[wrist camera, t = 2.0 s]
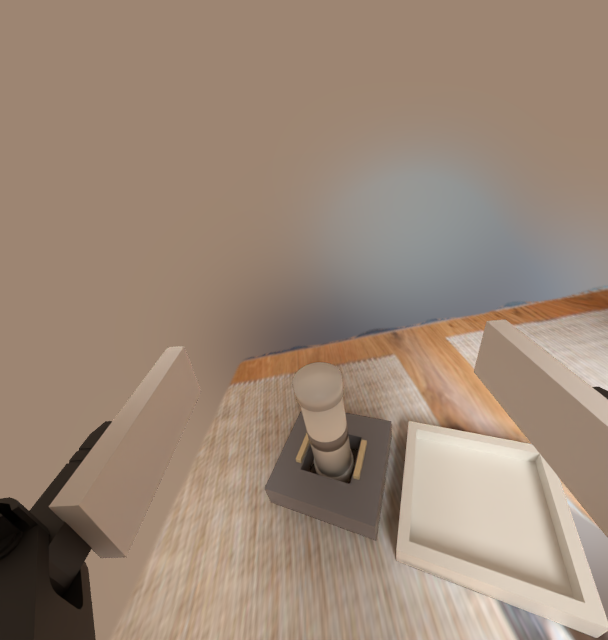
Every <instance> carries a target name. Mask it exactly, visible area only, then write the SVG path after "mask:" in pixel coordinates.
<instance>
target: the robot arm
mask: <svg viewBox="0 0 608 640" xmlns="http://www.w3.org/2000/svg"><path fill="white" fill-rule="evenodd" d="M474 373H475V374H476V375H477V376H478V378H479V379H480V380H481V381H482V383H483V384H484V385H485V386H486V388H487V389H488V390H489V391H490V393H491V394H492V395H493V396H494V397H495V399H496V400H497V401H498V402H499V404H500V405H501V406H502V407H503V409H504V410H505V411H506V412H507V414H508V415H509V416H510V417H511V419H512V420H513V421H514V422H515V424H516V425H517V426H518V427H519V428H520V430H521V431H522V432H523V433H524V435H525V436H526V437H527V438H528V440H529V441H530V442H531V443H532V445H533V446H534V447H535V448H536V450H537V451H538V452H539V453H540V454H541V456H542V457H543V458H544V459H545V461H546V462H547V463H548V464H549V466H550V467H551V468H552V469H553V471H554V472H555V473H556V474H557V476H558V477H559V478H560V479H561V481H562V482H563V483H564V484H565V485H566V487H567V488H568V489H569V490H570V492H571V493H572V494H573V495H574V497H575V498H576V499H577V500H578V502H579V503H580V504H581V505H582V507H583V508H584V509H585V510H586V512H587V513H588V514H589V515H590V516H591V518H592V519H593V520H594V521H595V523H596V524H597V525H598V526H599V528H600V529H601V530H602V531H603V533H604V534H605V535H606V536H607V537H608V391H606V390H604V389H602V388H600V387H591V386H590V385H589V384H587V383H586V382H585V381H583V380H582V379H581V378H580V377H578V376H577V375H576V374H574V373H573V372H572V371H571V370H569V369H568V368H567V367H566V366H564V365H563V364H562V363H560V362H559V361H558V360H557V359H555V358H554V357H553V356H551V355H550V354H549V353H548V352H546V351H545V350H544V349H543V348H541V347H540V346H539V345H537V344H536V343H535V342H534V341H532V340H531V339H530V338H528V337H527V336H526V335H525V334H523V333H522V332H521V331H520V330H518V329H517V328H516V327H514V326H513V325H512V324H511V323H509V322H508V321H507V320H494V321H487V322H486V326H485V330H484V334H483V338H482V342H481V345H480V349H479V353H478V357H477V361H476V365H475V369H474ZM200 394H201V389H200V387H199V384H198V381H197V379H196V376H195V373H194V371H193V368H192V366H191V363H190V360H189V358H188V355H187V352H186V350H185V347H184V346H180V347H168V348H167V349H166V350H165V352H164V353H163V354H162V356H161V357H160V358H159V360H158V361H157V362H156V364H155V365H154V366H153V368H152V369H151V370H150V372H149V373H148V374H147V376H146V377H145V379H144V380H143V381H142V382H141V384H140V385H139V386H138V388H137V389H136V390H135V392H134V393H133V394H132V396H131V397H130V398H129V400H128V401H127V403H126V404H125V405H124V407H123V408H122V409H121V410H120V412H119V413H118V414H117V416H116V417H115V419H114V420H113V421H108V422H105V423H103V424H102V425H101V426H100V427H98V428H97V429H96V430H95V431H94V432H92V433H91V434H90V435H89V437H88V438H87V439H86V440H85V442H84V443H83V444H82V445H81V447H80V448H79V451H77V452H76V453H75V454H74V455H73V457H72V458H71V459H70V462H69V464H66V465H65V467H64V468H63V469H62V471H61V472H60V473H59V475H58V476H57V477H56V478H55V479H54V481H53V482H52V483H51V484H50V486H49V487H48V488H47V489H46V491H45V492H44V493H43V494H42V496H41V497H40V498H39V499H38V501H37V502H36V503H35V505H34V506H33V507H32V508H31V510H30V511H28V510H27V509H26V508H25V507H24V506H23V505H22V504H20V503H19V502H18V501H17V500H15V499H13V498H10V497H9V498H3V499H0V640H95V630H94V620H93V611H92V601H91V592H90V582H89V573H88V567H87V565H86V563H85V562H84V561H85V559H86V557H87V555H88V553H89V552H90V550H91V549H92V550H93V551H94V552H95V553H96V554H97V555H98V556H99V557H100V558H118V557H127V555H128V552H129V550H130V548H131V546H132V544H133V541H134V539H135V537H136V535H137V533H138V530H139V528H140V526H141V524H142V522H143V519H144V517H145V515H146V513H147V511H148V508H149V506H150V504H151V502H152V500H153V497H154V495H155V493H156V491H157V489H158V486H159V484H160V482H161V480H162V477H163V475H164V473H165V471H166V469H167V467H168V464H169V462H170V460H171V458H172V455H173V453H174V451H175V449H176V447H177V444H178V442H179V440H180V438H181V435H182V434H183V431H184V429H185V427H186V425H187V423H188V420H189V418H190V416H191V414H192V412H193V409H194V407H195V405H196V403H197V401H198V398H199V396H200Z"/></svg>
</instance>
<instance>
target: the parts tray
mask: <svg viewBox="0 0 608 640" xmlns="http://www.w3.org/2000/svg"><path fill="white" fill-rule="evenodd" d="M396 561H398V562H400V563H403V564H406V565H408V566H411V567H413V568H416V569H419V570H421V571H424V572H426V573H429V574H432V575H434V576H437V577H439V578H442V579H445V580H447V581H450V582H452V583H455V584H458V585H460V586H463V587H465V588H468V589H471V590H473V591H476V592H478V593H481V594H484V595H486V596H489V597H491V598H494V599H497V600H499V601H502V602H504V603H507V604H510V605H512V606H515V607H517V608H520V609H523V610H525V611H528V612H530V613H533V614H536V615H538V616H541V617H543V618H546V619H549V620H551V621H554V622H556V623H559V624H562V625H564V626H567V627H569V628H572V629H575V630H577V631H580V632H582V633H585V634H588V635H590V636H593V637H595V638H598V637H599V636H601V635H602V634H604V633H605V632H607V631H608V621H607V618H606V615H605V612H604V609H603V606H602V603H601V600H600V597H599V594H598V591H597V588H596V585H595V582H594V579H593V577H592V573H591V570H590V568H589V565H588V562H587V559H586V556H585V553H584V550H583V547H582V544H581V541H580V538H579V535H578V532H577V529H576V526H575V523H574V520H573V517H572V514H571V511H570V509H569V506H568V503H567V500H566V497H565V494H564V491H563V488H562V485H561V482H560V479H559V477H558V476H557V474H556V473H555V472H554V471H553V469H552V468H551V467H550V466H549V464H548V463H547V462H546V461H545V459H544V458H543V457H542V456H541V454H540V453H539V452H538V451H537V450H536V448H535V447H534V446H533V445H532V444H528V443H523V442H518V441H513V440H507V439H502V438H497V437H491V436H486V435H481V434H476V433H470V432H465V431H460V430H454V429H449V428H444V427H439V426H433V425H428V424H423V423H418V422H412V421H409V424H408V434H407V445H406V455H405V465H404V475H403V486H402V496H401V506H400V517H399V527H398V537H397V548H396Z"/></svg>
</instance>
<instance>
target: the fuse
mask: <svg viewBox="0 0 608 640" xmlns="http://www.w3.org/2000/svg"><path fill="white" fill-rule="evenodd" d="M292 385H293V389H294V392H295V396H296V400H297V402H298V404H299V405H300V407H301V410H302V414H303V418H304V422H305V425H306V431H307V435H308V439H309V442H310V444H311V448H312V452H313V456H314V466H315V470H316V473H317V474H318V475H321V476H324V477H328V478H331V479H334V480H338V481H341V482H344V483H348V482H349V481H350V480H351V479H352V475H353V471H354V467H355V466H354V459H353V454H352V451H351V450H350V443H349V436H348V426H347V420H346V415H345V408H344V402H343V395H344V387H343V380H342V374H341V372H340V370H339V369H338V368H337V367H336V366H334V365H332V364H329V363H325V362H316V363H311V364H308V365H306V366H304V367H302V368H301V369H299V370H298V371H297V373H296V374H295V375H294V377H293V381H292Z"/></svg>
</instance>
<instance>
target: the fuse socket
mask: <svg viewBox="0 0 608 640" xmlns="http://www.w3.org/2000/svg"><path fill="white" fill-rule="evenodd" d="M345 415H346V420H347V426H348V436H349V443H350V449H354V450H358V454H357V459H356V463H355V467H354V471H353V475H352V479H351V483H350V484H348V483H344V482H341V481H338V480H334V479H331V478H328V477H324V476H321V475H318V474H314V473H311V472H309V471H310V469H311V466H312V463H313V460H314V456H313V452H312V448H311V444H310V442H309V439H308V435H307V431H306V425H305V422H304V418H303V414H302V410H301V412H300V414H299V416H298V419H297V421H296V423H295V425H294V427H293V429H292V431H291V433H290V436H289V438H288V440H287V442H286V444H285V446H284V448H283V450H282V452H281V455H280V457H279V459H278V461H277V463H276V465H275V467H274V469H273V472H272V474H271V476H270V478H269V480H268V482H267V484H266V486H265V490H266V493H267V495H268V497H269V499H270V501H271V502H272V503H275V504H278V505H281V506H283V507H286V508H289V509H291V510H294V511H297V512H300V513H302V514H305V515H308V516H310V517H313V518H316V519H319V520H321V521H324V522H327V523H330V524H332V525H335V526H338V527H340V528H343V529H346V530H349V531H351V532H354V533H357V534H360V535H362V536H365V537H368V538H370V539H373V540H376V539H377V532H378V525H379V519H380V512H381V505H382V498H383V491H384V485H385V478H386V471H387V464H388V457H389V451H390V444H391V437H392V431H391V421H386V420H381V419H376V418H371V417H366V416H360V415H355V414H350V413H345Z"/></svg>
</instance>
